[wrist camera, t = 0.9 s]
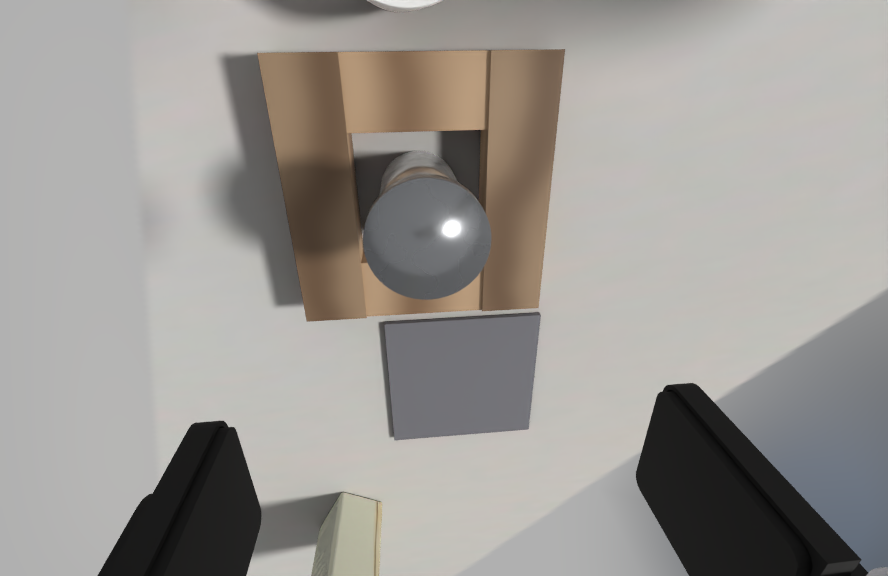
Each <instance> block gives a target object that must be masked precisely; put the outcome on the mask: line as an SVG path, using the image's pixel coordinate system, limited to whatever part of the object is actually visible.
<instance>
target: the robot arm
mask: <svg viewBox="0 0 888 576" xmlns="http://www.w3.org/2000/svg"><path fill="white" fill-rule="evenodd" d="M636 480H637V484H638V487H639V489H640V491H641V493H642V494H643V496H644V498H645V500H646V501H647V503H648V505H649V507H650V508H651V510H652V512H653V514H654V515H655V517H656V519H657V520H658V522H659V524H660V526H661V528H662V529H663V531H664V533H665V534H666V536H667V538H668V540H669V541H670V543H671V545H672V547H673V548H674V550H675V552H676V554H677V555H678V557H679V559H680V561H681V562H682V564H683V566H684V568H685V569H686V571H687V573H688V574H689V576H888V568H885V567H882V568H877V569H873V570H871V571H870V572H869V573H868V572H867V571H866V570H865V569H864V568H863V567H862V566H861V564H860V563H859V562H860V561H861V559H860V558H859V557H858V556H857V555H856V554H855V552H854V551H853V550H852V549H851V548H850V547H849V546H848V545H847V544H846V543H845V542H844V541H843V540H842V539H841V538H840V536H839V535H838V534H836V532H835V531H834V530H833V529H832V528H831V527H830V526H829V525H828V524H827V523H826V522H825V520H823V518H822V517H821V516H820V515H819V514H818V513H817V512H816V511H815V510H814V509H813V508H812V507H811V506H810V505H809V503H808V502H807V501H805V499H804V498H803V497H802V496H801V495H800V494H799V493H798V492H797V491H796V490H795V488H794V487H793V486H792V485H791V484H790V483H789V482H788V481H787V480H786V479H785V478H784V477H783V476H782V475H781V474H780V472H779V471H778V470H777V469H776V468H775V467H774V466H773V465H772V464H771V463H770V462H769V461H768V460H767V459H766V458H765V456H763V454H762V453H761V452H760V451H759V450H758V449H757V448H756V447H755V446H754V445H753V444H752V443H751V442H750V440H749V439H748V438H747V437H746V436H745V435H744V434H743V433H742V432H741V431H740V430H739V429H738V428H737V427H736V426H735V424H734V423H733V422H732V421H731V420H730V419H729V418H728V417H727V416H726V415H725V414H724V413H723V412H722V411H721V410H720V408H719V407H718V406H717V405H716V404H715V403H714V402H713V401H712V400H711V399H710V398H709V397H708V396H707V395H706V393H705V392H704V391H703V390H702V389H701V388H700V387H699V386H697V385H696V384H694V383H687V384H674V385H667V386H666V387H665V388H664V390H663V392H660V393H659V394H658V395H657V398H656V402H655V405H654V409H653V413H652V416H651V420H650V424H649V427H648V431H647V435H646V438H645V442H644V446H643V449H642V453H641V456H640V460H639V464H638V467H637V471H636ZM260 525H261V508H260V505H259V502H258V498H257V495H256V492H255V489H254V486H253V483H252V479H251V476H250V473H249V470H248V467H247V463H246V460H245V457H244V454H243V451H242V448H241V444H240V441H239V438H238V435H237V432H236V429H235V428H234V427H228V426H227V424H226V422H224V421H213V422H201V423H194V424H192V425H191V427H190V428H189V429H188V431H187V433H186V435H185V436H184V438H183V440H182V442H181V444H180V445H179V447H178V449H177V451H176V453H175V454H174V456H173V458H172V460H171V462H170V463H169V465H168V467H167V469H166V471H165V472H164V474H163V476H162V478H161V480H160V481H159V483H158V485H157V487H156V489H155V490H154V492H153V494H149V495H148V496H146V497H145V498H144V499H143V500H142V501H141V502H140V504H139V505H138V507H137V508H136V510H135V512H134V513H133V515H132V517H131V519H130V520H129V522H128V524H127V526H126V527H125V529H124V531H123V533H122V534H121V536H120V538H119V539H118V541H117V543H116V545H115V546H114V548H113V550H112V552H111V553H110V555H109V557H108V559H107V560H106V562H105V564H104V566H103V567H102V569H101V571H100V572H99V574H98V576H246V574H247V571H248V567H249V564H250V560H251V557H252V553H253V550H254V546H255V543H256V539H257V536H258V532H259V529H260Z"/></svg>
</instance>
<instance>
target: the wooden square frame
mask: <svg viewBox="0 0 888 576" xmlns="http://www.w3.org/2000/svg"><path fill="white" fill-rule="evenodd" d="M257 54H258V60H259V65H260V71H261V76H262V81H263V87H264V92H265V98H266V103H267V108H268V114H269V119H270V125H271V130H272V135H273V141H274V146H275V152H276V157H277V163H278V168H279V173H280V179H281V184H282V190H283V195H284V200H285V206H286V211H287V217H288V222H289V227H290V233H291V238H292V244H293V249H294V255H295V260H296V265H297V271H298V276H299V282H300V287H301V292H302V298H303V303H304V309H305V314H306V319H307V321H324V320H341V319H358V318H367V316H383V315H400V314H417V313H434V312H451V311H468V310H482V311H493V310H510V309H527V308H538V307H539V297H540V287H541V277H542V268H543V258H544V248H545V239H546V229H547V219H548V209H549V200H550V190H551V180H552V171H553V161H554V151H555V141H556V132H557V122H558V112H559V103H560V93H561V83H562V73H563V64H564V54H565V49H561V50H479V51H392V52H301V53H257ZM453 130H481V134H480V172H479V203H480V204H481V206H482V208H483V209H484V211H485V213H486V215H487V218H488V221H489V224H490V229H491V249H490V253H489V256H488V259H487V261H486V264H485V265H484V267H483V269H482V271H481V272H480V273H479V275H478V276H477V277H476V278H475V279H474V280H473V281H472V282H471V283H470V284H469V285H468V286H466V287H465V288H463V289H462V290H460V291H458V292H456V293H454V294H452V295H449V296H447V297H443V298H439V299H431V300H421V299H413V298H409V297H405V296H403V295H400V294H398V293H396V292H394V291H392V290H390V289H389V288H387V287H386V286H385V285H384V284H383V283H381V282H380V281H379V280H378V278H377V277H376V276H375V275H374V273H373V272H372V270H371V269H370V267H369V265H368V263H367V260H366V257H365V254H364V249H363V240H362V230H361V221H360V211H359V202H358V192H357V183H356V173H355V163H354V154H353V144H352V135H351V133H376V132H414V131H453Z"/></svg>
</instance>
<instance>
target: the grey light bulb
mask: <svg viewBox="0 0 888 576" xmlns="http://www.w3.org/2000/svg"><path fill="white" fill-rule="evenodd" d="M363 248H364V254H365V257H366V260H367V263H368V265H369V267H370V269H371V270H372V272H373V273H374V275H375V276H376V277H377V278H378V280H379V281H380V282H381V283H383V284H384V285H385V286H386V287H387V288H389V289H390V290H392V291H394V292H396V293H398V294H400V295H403V296H405V297H409V298H413V299H421V300H431V299H439V298H443V297H447V296H449V295H452V294H454V293H456V292H458V291H460V290H462V289H463V288H465V287H466V286H468V285H469V284H470V283H471V282H472V281H473V280H474V279H475V278H476V277H477V276H478V275H479V273H480V272H481V271H482V269H483V267H484V265H485V264H486V261H487V259H488V256H489V253H490V249H491V229H490V224H489V221H488V218H487V215H486V213H485V211H484V209H483V208H482V206H481V204H480V203H479V201H478V200H477V198H476V197H475V196H474V195H473V193H472V192H471V191H470V190H468V189H467V188H466V187H465V186H463V185H462V184H460V183H459V182H457V180H456V178H455V175H454V173H453V171H452V169H451V168H450V167H449V165H448V164H447V163H446V162H445V161H444V160H443V159H442V158H440V157H439V156H437V155H435V154H433V153H430V152H426V151H411V152H407V153H404V154H402V155H400V156H398V157H397V158H396V159H394V160H393V161H392V162H391V163H390V164H389V165H388V167H387V168H386V170H385V172H384V174H383V177H382V180H381V187H380V195H379V196H378V197H377V198H376V200H375V201H374V203H373V204H372V206H371V208H370V210H369V212H368V215H367V218H366V222H365V227H364V234H363Z"/></svg>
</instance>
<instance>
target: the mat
mask: <svg viewBox="0 0 888 576" xmlns="http://www.w3.org/2000/svg"><path fill="white" fill-rule="evenodd" d="M540 316H541V315H540V313H523V314H506V315H489V316H473V317H456V318H439V319H422V320H406V321H389V322H384V327H385V338H386V350H387V361H388V372H389V383H390V395H391V406H392V417H393V429H394V440H404V439H416V438H428V437H440V436H453V435H465V434H477V433H490V432H502V431H514V430H527V429H529V419H530V410H531V401H532V391H533V382H534V373H535V363H536V354H537V344H538V335H539V326H540Z"/></svg>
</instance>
